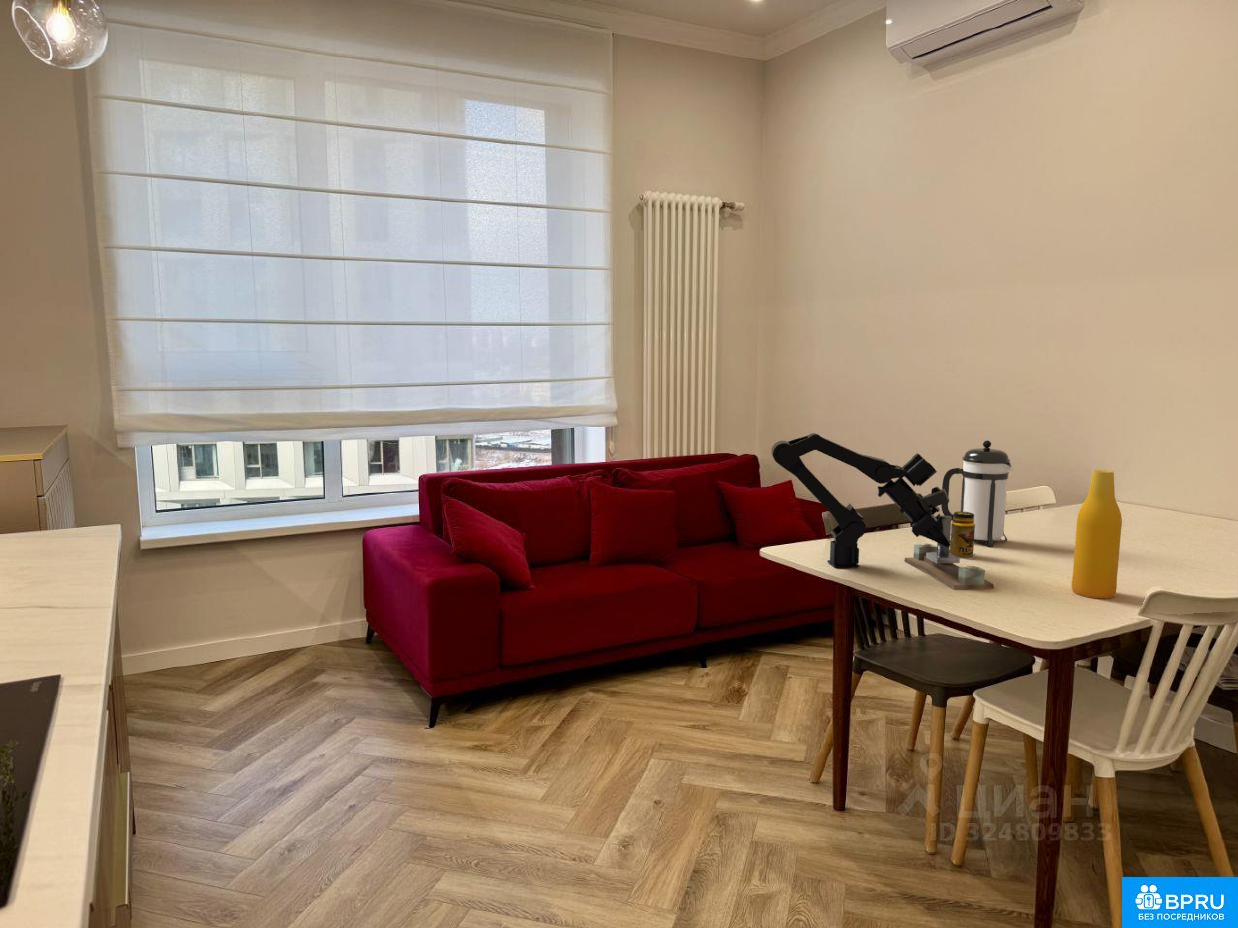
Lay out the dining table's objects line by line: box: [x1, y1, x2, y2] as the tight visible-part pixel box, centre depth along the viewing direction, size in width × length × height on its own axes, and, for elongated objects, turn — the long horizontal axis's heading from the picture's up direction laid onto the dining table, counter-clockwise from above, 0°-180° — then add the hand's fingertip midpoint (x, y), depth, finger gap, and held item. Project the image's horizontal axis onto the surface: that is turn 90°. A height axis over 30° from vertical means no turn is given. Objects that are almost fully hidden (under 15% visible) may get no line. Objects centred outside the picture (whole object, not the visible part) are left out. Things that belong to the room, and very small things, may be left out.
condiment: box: [949, 510, 977, 560], centre depth 242 cm, size 7×8×12 cm
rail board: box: [903, 542, 995, 590], centre depth 222 cm, size 10×27×5 cm, turn 7°
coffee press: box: [940, 440, 1014, 548], centre depth 258 cm, size 17×16×30 cm
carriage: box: [926, 514, 961, 564], centre depth 224 cm, size 6×6×11 cm
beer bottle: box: [1071, 469, 1123, 600], centre depth 204 cm, size 9×9×29 cm
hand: (949, 544), depth 223 cm, fingers closed on carriage, 3 cm apart
